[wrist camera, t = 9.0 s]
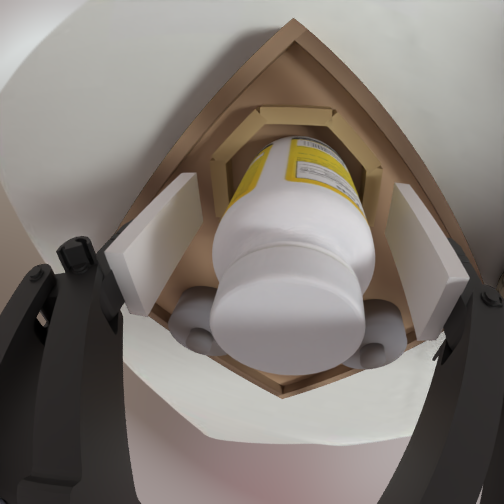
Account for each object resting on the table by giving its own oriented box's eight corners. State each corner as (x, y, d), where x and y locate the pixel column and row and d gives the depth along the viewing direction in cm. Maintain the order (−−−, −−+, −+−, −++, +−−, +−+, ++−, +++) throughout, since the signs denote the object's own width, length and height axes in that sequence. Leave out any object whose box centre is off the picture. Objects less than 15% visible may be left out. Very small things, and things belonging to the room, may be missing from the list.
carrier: (295, 26, 11) (290, 5, 7) (478, 280, 17) (501, 326, 13) (108, 254, 23) (77, 292, 19) (284, 379, 29) (279, 419, 25)
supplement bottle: (264, 234, 17) (223, 387, 9) (235, 147, 14) (140, 265, 6) (356, 220, 15) (387, 379, 7) (340, 125, 12) (396, 225, 5)
